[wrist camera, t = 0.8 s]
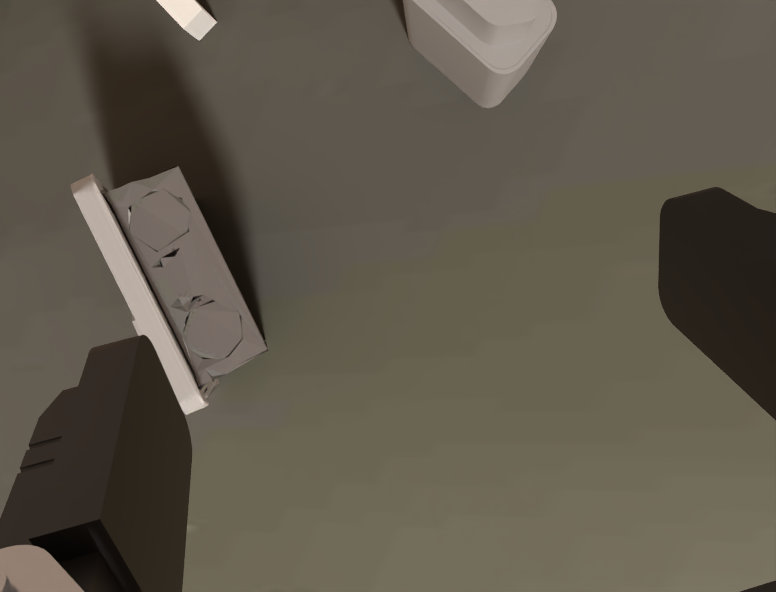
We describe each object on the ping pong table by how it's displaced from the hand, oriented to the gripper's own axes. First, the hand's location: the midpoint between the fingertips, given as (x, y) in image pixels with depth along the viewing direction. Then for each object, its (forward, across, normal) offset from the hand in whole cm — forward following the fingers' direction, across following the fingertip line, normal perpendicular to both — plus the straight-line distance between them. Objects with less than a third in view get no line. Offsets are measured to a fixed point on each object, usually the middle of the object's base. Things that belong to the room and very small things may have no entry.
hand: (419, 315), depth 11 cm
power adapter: (+23, -8, +1) cm, 24 cm away
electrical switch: (+22, +7, +9) cm, 24 cm away
